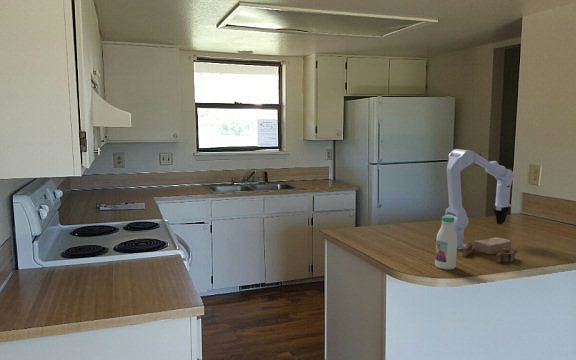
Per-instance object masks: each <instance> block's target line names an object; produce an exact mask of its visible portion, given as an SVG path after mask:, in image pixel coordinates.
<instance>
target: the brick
mask: <svg viewBox="0 0 576 360" xmlns="http://www.w3.org/2000/svg"><path fill="white" fill-rule="evenodd" d="M503 248H505V249H511V250H512V240H509V239H507V238H504V237H503V238H501V237H497V236H496V237H490V238H487V239H479V240H474V241H473V249H474V250H475V251H477V252H479V253H482V254H487V255H494V254H498V253H499V252H502V249H503Z"/></svg>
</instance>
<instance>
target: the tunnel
mask: <svg viewBox="0 0 576 360" xmlns="http://www.w3.org/2000/svg"><path fill="white" fill-rule="evenodd" d="M473 247H474V243H468V244H466V246H465V247H464V248H462V255H461V256H462V257H464V258H466V257H467V256H469V255H470V254H471V253H472V252H473ZM495 256H496V257H495V263H496V264H500V263H501V262H502V263H508V264H511V263H512V262H514V260H515V257H516V250H515V249H512V248H511V249H505V248H503V249H502V252H499V253H496V255H495Z"/></svg>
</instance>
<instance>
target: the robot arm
mask: <svg viewBox="0 0 576 360" xmlns="http://www.w3.org/2000/svg"><path fill="white" fill-rule="evenodd" d="M473 164H475V165H478V166H480V167H482V168H484V172H486V173H488V174H489V175H490V176H493V177H494V179H495V180H496V195H495V202H494V206H495V207H494V208H493V213H494V215H495V219H496V224H497V225H503V224H504V223H505V222H506V219H507V216H508V213H509V212H510V209H511V207H512V206H513V204H510V200H511V199H510V198H511V186H512V184H513V181H514V179H515V173H514V172H513V170H512V169H509V168H506V166H504V165H500V164H499V163H498V161H496V160H492V161H488V160H487V159H485V158H484V157H483V156H481V155H479V154H478V153H477V152H476V151H473V150H470V149H468V150H467V149H460V148H454V149H453V150H452V151H451V152H450V153H449V154H448V163H447V166H446V180H447V181H446V182H447V195H448V207H447V208H445V213H444V216H452V217H454V223H453V226H454V230H455V232H456V235H457V250H463V248H464V247H465V246H467V244H465V243H464V238H465V237H464V236H465V235H464V234H465V229H466V228H467V226H468V225H469V217H468V215H467V212H466V210H465V208H464V207H463V196H462V195H463V194H462V184H461V183H462V181H461V180H462V179H461V172H462V171H463V170H464V169H466V168H467V167H469V166H470V165H473Z"/></svg>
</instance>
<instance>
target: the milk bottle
mask: <svg viewBox="0 0 576 360" xmlns="http://www.w3.org/2000/svg"><path fill="white" fill-rule="evenodd" d="M453 223H454V217H452V216H445V215H443V216H441V226H440V228H439V230H438V232H437V234H436V241H435V253H434V254H435V257H434V265H435V267H436V268H438V269H442V270H454V269H455V268H456V265H457V264H456V263H457V253H458V252H457V250H458V249H457V235H456V232H455V230H454V226H453Z"/></svg>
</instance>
